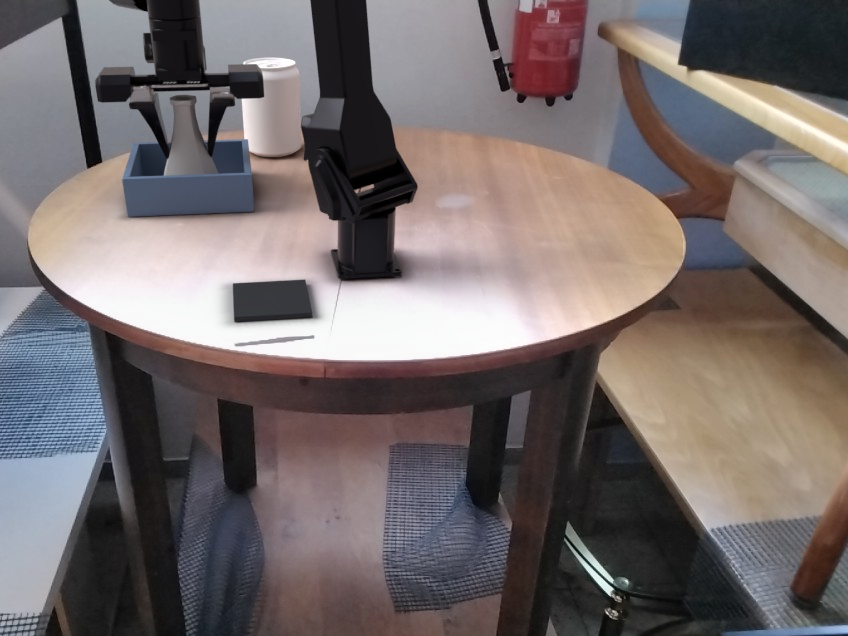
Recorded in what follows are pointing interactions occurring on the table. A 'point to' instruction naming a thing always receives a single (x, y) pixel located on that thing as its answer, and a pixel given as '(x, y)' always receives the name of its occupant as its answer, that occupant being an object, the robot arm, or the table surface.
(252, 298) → the coaster
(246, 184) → the tote
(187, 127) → the flask
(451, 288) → the table surface
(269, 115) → the beverage can
